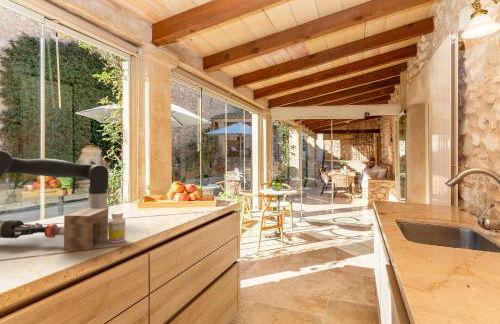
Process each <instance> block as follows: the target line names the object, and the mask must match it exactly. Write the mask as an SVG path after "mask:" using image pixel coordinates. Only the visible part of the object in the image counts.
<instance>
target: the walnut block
mask: <svg viewBox="0 0 500 324" xmlns="http://www.w3.org/2000/svg"><path fill="white" fill-rule="evenodd" d="M63 220H64V221H63V222H64V223H63V224H64V225H63V227H64V236H63V250H64V251H90V250H91V249H93V247H94V245H93V244H101V243H103V242H105V241H106V240H109V208H108V209H89V208H88V207H86V208H84V209H81V210H78V211H75V212H72V213H68V214H65V215H64V218H63Z"/></svg>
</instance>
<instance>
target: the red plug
mask: <svg viewBox="0 0 500 324" xmlns="http://www.w3.org/2000/svg"><path fill="white" fill-rule="evenodd" d="M45 227H46V228H45V233H44V236H45V237H46V238H48V239H49V238H50V239H51V238H52V239H53V238H55V237H57V236H63V237H64V226H59V225H57V224H56V223H55V224H54V223H53V224H52V223H49V224H47V225H46V226H45Z"/></svg>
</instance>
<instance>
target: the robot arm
mask: <svg viewBox="0 0 500 324" xmlns="http://www.w3.org/2000/svg"><path fill="white" fill-rule="evenodd" d="M4 174H25V175H34V176H44V177H48V178H49V177H50V178H51V177H52V178H81V179H82V178H83V179H88V180H89V187H88V202H87V203H88V207H87V208H89V209H108V210H109V205H108V188H109V177H110V175H109V170H108V167H106V166H105V165H102V164H82V163H76V162H72V161H67V160H62V159H57V158H56V159H55V158H34V159H32V158H31V159H30V158H29V159H27V158H26V159H24V158H17V157H12V155H11V153H10V152H8V151H6V150H1V149H0V179H1V178H2V176H3V175H4ZM46 227H47V226H43V224H41V223H38V222H35V224H31V223H25V224H24V222H23V221H22V220H17V219H1V220H0V239H18V238H20V237H22V236H28V235H29V236H30V235H35V234H39V233H41V234H45V228H46Z"/></svg>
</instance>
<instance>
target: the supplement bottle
mask: <svg viewBox="0 0 500 324" xmlns="http://www.w3.org/2000/svg"><path fill="white" fill-rule="evenodd" d="M123 216H124V212H122V211H117V212H116V211H115V212H112V213H111V217H112V218H110V219H109V220H108V242H109V243H113V244H117V243H119V244H120V243H124V241H125V240H126V219H125V217H123Z"/></svg>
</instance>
